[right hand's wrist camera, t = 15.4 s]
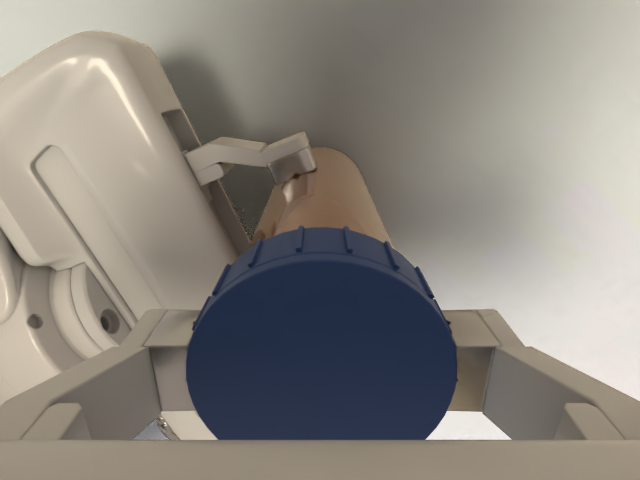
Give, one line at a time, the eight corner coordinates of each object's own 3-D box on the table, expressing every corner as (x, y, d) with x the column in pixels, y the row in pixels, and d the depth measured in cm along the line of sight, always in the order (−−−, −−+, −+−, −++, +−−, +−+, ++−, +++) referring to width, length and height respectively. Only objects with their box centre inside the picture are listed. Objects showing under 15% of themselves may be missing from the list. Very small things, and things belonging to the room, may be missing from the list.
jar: (270, 223, 24) (199, 429, 10) (284, 138, 22) (221, 242, 8) (352, 239, 24) (399, 458, 10) (373, 156, 22) (465, 286, 8)
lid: (331, 449, 12) (333, 514, 10) (161, 339, 10) (128, 393, 9) (484, 322, 10) (519, 373, 8) (307, 170, 9) (303, 193, 7)
